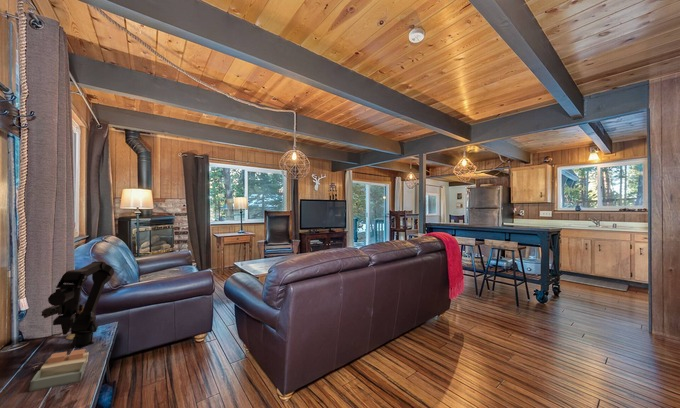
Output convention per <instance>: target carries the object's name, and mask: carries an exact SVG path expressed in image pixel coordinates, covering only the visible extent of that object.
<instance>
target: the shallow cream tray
mask: <svg viewBox="0 0 680 408" xmlns="http://www.w3.org/2000/svg"><path fill="white" fill-rule="evenodd" d="M89 354H90V351H88V352H86V351H85V354H84V356H83V358H80V359H74V360H69V355H70V354H67V356H66V358H65V360H64V361H61V362H55V363H49V358H50V357H48V358H47V359H46V361H45V362H44V363H43V365H42V366H41V368H40V370H41V375H40V378H43V377H49V376H54V375H60V374H65V373H71V372H77V371H80V370H81V367H82V365H83V363H86V365H87V363H88V360H89ZM48 363H49V364H48ZM86 365H85V367H86ZM40 370H39V371H40Z"/></svg>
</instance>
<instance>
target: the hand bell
mask: <svg viewBox="0 0 680 408" xmlns="http://www.w3.org/2000/svg"><path fill="white" fill-rule="evenodd" d="M82 306H83V307H82V311H83V308H84V306H85V305H82ZM82 311H81V312H82ZM81 312H79V310H78V312H77V313H81ZM74 336H75V334H71V332H70V333H69V334H68V335H67V336H65V339H66V340H69V341H71V340H72V341H73V337H74Z"/></svg>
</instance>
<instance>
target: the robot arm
mask: <svg viewBox="0 0 680 408" xmlns="http://www.w3.org/2000/svg"><path fill="white" fill-rule="evenodd" d="M91 275H92V276H91ZM114 275H115V269H114V268H113V267H112V266H111V265H110V264H107V263H106V262H105V261H99V260H97V261H96V260H95V261H92V262H91V263H89V264H87V265H85V266H83V267H80V268H79V269H71V270H67V271H66V272H64V274H62V276H61V278H60V279H59V281H58V283H57V285H56V286H55V288H56V289H55V291H54V292H53V293H51V294H50V295H49V296H48V299H47V301H48V303H49V304H50V305H51V306H49V307H45V308H44V309H42V311H41V317H43V318H44V319H47V318H49V317H51V316H54V315H57V316H56V317H55V318H54V319H53V320H52V326H61V330H62V331H61V332H62V335H64V336H65V335H67V334H68V333H69V332H70V333H71V334H75V336H74V337H73V340H72V343H71V344H70V346H71V347H75V348H77V349H81V348H83V347H86V346H89V345H93V344H94V343H95V342H94V341H93V337H94V333H96V332H97V331H98V328H99V325H98V323H97V321H96V320H97V316H96V314H95V312H96V309H97V306H98V303H99V302H100V298H101V295H102V293H103V290H104V288H105V285H106V284H107V283H108V282H109V281H111V279H112V277H113V276H114ZM89 276H91V279H92V282H93V284H92V285H91V289H90V291H89V293H88V296H87V299H86V301H85V303H84V305H82V304H81V303H80V302H81V300H82V299H81V294H82V287H84V286H85V284H84V283H85V282H86V281H87V280H88V277H89ZM83 306H84V308H83V311H82V307H83ZM78 310H79V312H81V311H82V312H81V313H78Z"/></svg>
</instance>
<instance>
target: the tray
mask: <svg viewBox="0 0 680 408" xmlns="http://www.w3.org/2000/svg"><path fill="white" fill-rule="evenodd" d="M85 365H87V363H83V365H82V367H81V370H80V371H77V372H71V373H65V374H60V375H54V376H49V377H43V378H40V375H41V370H37V372H36V374H35V375H34V376H33V377H32V379H31V380H30V382H29V389H28V392H29V393H30V392H34V391H40V390H46V389H50V388H56V387H61V386H66V385H70V384H76V383H80V382H81V380H82V379H83V377H84V375H85V372H84V371H86V366H85Z"/></svg>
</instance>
